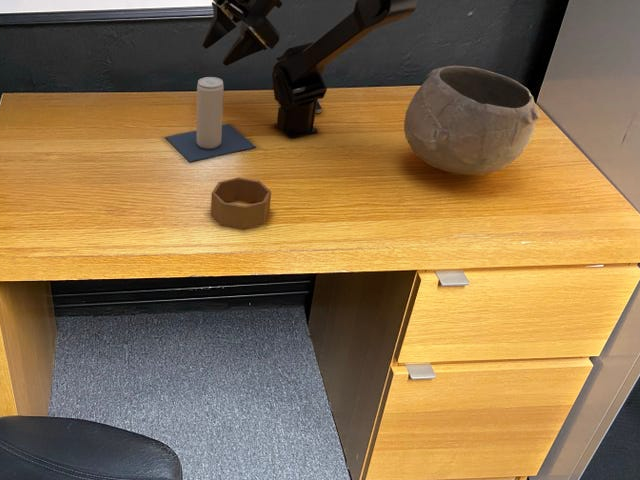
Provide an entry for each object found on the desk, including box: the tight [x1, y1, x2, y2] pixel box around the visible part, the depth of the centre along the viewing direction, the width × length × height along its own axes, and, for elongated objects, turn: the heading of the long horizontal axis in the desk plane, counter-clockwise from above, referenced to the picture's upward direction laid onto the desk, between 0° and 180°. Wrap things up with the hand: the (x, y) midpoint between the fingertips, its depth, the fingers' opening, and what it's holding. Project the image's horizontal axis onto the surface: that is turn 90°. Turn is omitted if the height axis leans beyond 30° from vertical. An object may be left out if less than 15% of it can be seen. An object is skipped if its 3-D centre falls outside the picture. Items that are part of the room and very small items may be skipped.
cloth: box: [165, 123, 257, 163], centre depth 133 cm, size 14×11×1 cm
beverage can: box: [196, 76, 225, 149], centre depth 128 cm, size 5×5×12 cm
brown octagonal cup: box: [210, 177, 272, 230], centre depth 113 cm, size 9×9×4 cm
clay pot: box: [403, 65, 541, 176], centre depth 120 cm, size 21×21×15 cm
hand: (213, 55), depth 130 cm, fingers open, 9 cm apart
